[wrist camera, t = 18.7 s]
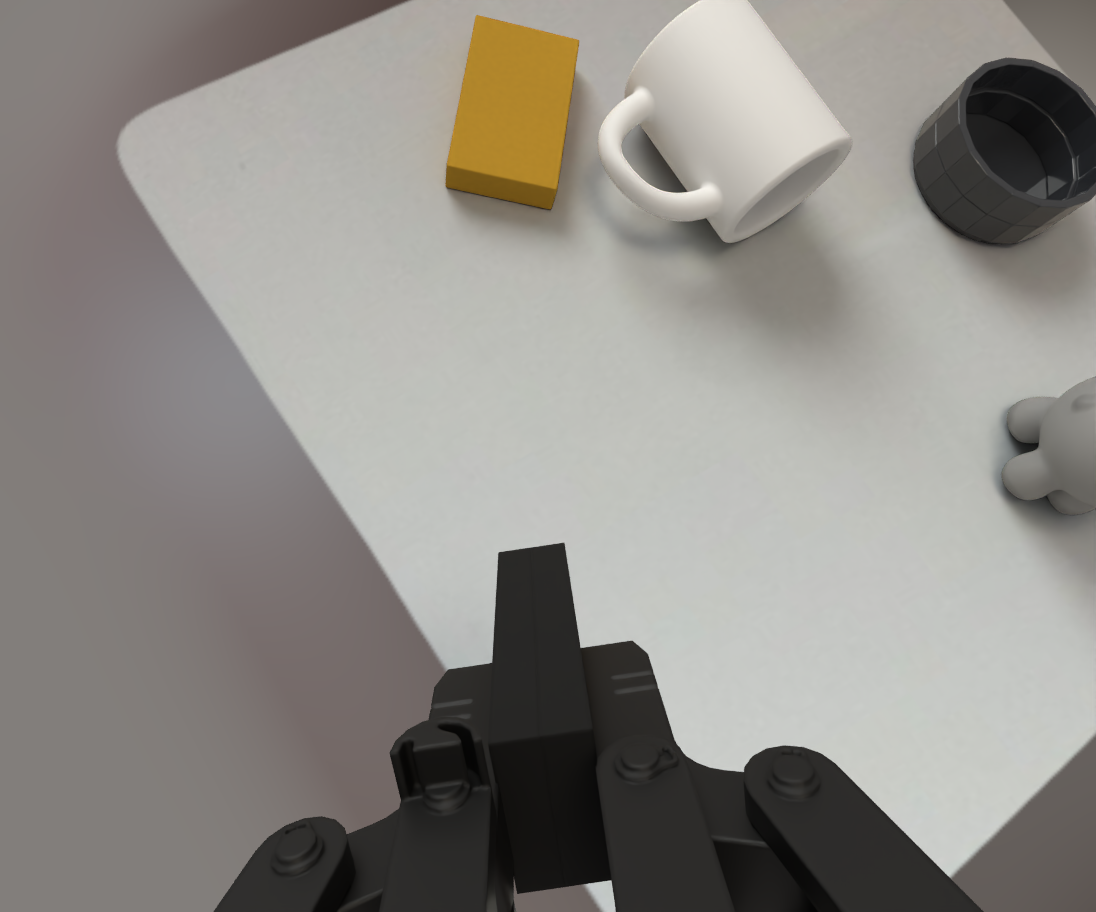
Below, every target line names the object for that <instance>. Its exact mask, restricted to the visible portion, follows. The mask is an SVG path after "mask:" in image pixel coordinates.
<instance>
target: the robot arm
mask: <svg viewBox="0 0 1096 912" xmlns="http://www.w3.org/2000/svg"><path fill="white" fill-rule="evenodd" d="M431 708H432V709H431V711H430V715H429V720H428V721H424V722H421V723H420V724H418V725H416V726H414V727H412V728H410V729H408V730H407V731H406V732H405V733H404V734H403V735H401V737H399V738H398V739H397V740H396V741H395V743H394V745H393V747H392V750H391V751H390V757H391V761H392V765H393V769H394V773H395V777H396V782H397V785H398V789H399V794H400V798H401V803H400V808H399V809H398V810H396V811H395V812H394V813H392V814H391V815H389V816H388V817H387V818H384V819H382V820H380V821H378V822H376V823H374V824H372V825H370V826H367V827H364V828H362V829H359V830H357V831H355V832H352V833H349V834H346V831H345V828H344V827H343V826H342V825H341V824H340V823H339V822H337V821H336V820H334V819H330V818H326V817H313V818H304V819H302V820H299V821H296V822H294V823H291V824H289V825H286V826H284V827H283V828H281V829H280V830H278V831H277V832H275V833H274V834H273V835H271V836H269V837H268V838H267V840H265V841H264V842H263V844H262V845H261V846H260V847H259V848H258V849H257V850H256V851H255V853H254V854H253V856H252V857H251V858H250V860H249V861H248V863H247V864H246V866H245V867H244V869H243V870H242V871H241V873H240V874H239V876H238V877H237V879H236V880H235V881H234V883H233V884H232V886H231V887H230V889H229V890H228V892H227V893H226V894H225V896H224V897H223V899H222V900H221V902H220V903H219V905H218V906H217V908H216V909H215V910H214V912H516V909H515V904H514V899H513V898H514V895H513V893H514V883H513V882H514V880H515V885H516V890H517V894H519V893H526V892H533V891H540V890H547V889H554V888H561V887H568V886H574V885H581V884H588V883H595V882H602V881H609V880H612V887H613V893H614V900H615V907H616V912H983V911H982V910H981V909H980V908H979V907H978V906H977V905H976V904H975V903H974V902H973V901H972V900H971V899H970V898H969V897H968V896H967V895H966V894H965V893H964V892H963V891H962V890H961V889H960V888H959V887H958V886H957V885H956V884H955V883H954V882H953V881H952V880H951V879H950V878H949V877H948V876H947V875H946V874H945V873H944V872H943V871H942V870H941V869H940V868H939V867H938V866H937V865H936V864H935V863H934V862H933V861H932V860H931V859H930V858H929V857H928V856H927V855H926V854H925V853H924V852H923V851H922V850H921V849H920V848H919V847H918V846H917V845H916V844H915V843H914V842H913V841H912V840H911V839H910V838H909V837H908V836H907V835H906V834H905V833H904V832H903V831H902V830H901V829H900V828H899V827H898V826H897V825H896V824H895V823H894V822H893V821H892V820H891V819H890V818H889V817H888V816H887V815H886V814H885V813H884V812H883V811H882V810H881V809H880V808H879V807H878V806H877V805H876V804H875V803H874V802H873V801H872V800H871V799H870V798H869V797H868V796H867V795H866V794H865V793H864V792H863V791H862V790H861V789H860V788H859V787H858V786H857V785H856V784H855V783H854V782H853V781H852V780H851V779H850V778H849V777H848V776H847V775H846V774H845V773H844V772H843V771H842V770H841V769H840V768H839V767H838V766H837V765H836V764H835V763H834V762H832V761H831V760H830V759H828V758H827V757H825V756H824V755H822V754H821V753H818V752H815V751H813V750H810V749H807V748H804V747H795V746H779V747H773V748H767V749H765V750H763V751H761V752H759V753H758V754H756V755H754V756H753V757H752V758H751V759H750V760H749V762H748V763H747V764H746V766H745V768H744V772H736V771H726V770H720V769H714V768H709V767H707V766H704V765H701V764H699V763H696V762H695V761H693V760H691V759H690V758H688V757H687V756H686V755H685V754H684V753H683V752H682V750H681V749H680V747H679V746H677V744H676V742H675V740H674V737H673V734H672V730H671V727H670V724H669V721H668V718H667V714H666V711H665V708H664V705H663V701H662V698H661V695H660V692H659V689H658V686H657V682H656V679H655V676H654V674H653V669H652V666H651V663H650V660H649V656H648V654H647V653H646V652H645V651H644V650H643V649H641V648H640V647H639V646H638V645H637V644H636V643H634V642H633V641H626V642H620V643H613V644H606V645H599V646H592V647H586V648H580V642H579V635H578V629H577V622H576V616H575V609H574V603H573V596H572V590H571V583H570V577H569V570H568V564H567V557H566V551H565V544H564V543H559V544H553V545H546V546H539V547H532V548H525V549H519V550H512V551H505V552H499V553H498V571H497V589H496V607H495V625H494V643H493V661H492V663H490V664H483V665H476V666H470V667H463V668H456V669H449V670H448V671H447V672H446V673H445V674H444V676H443V677H442V678H441V680H440V681H439V682H438V683H437V685H436V686H435V687H434V693H433V699H432V704H431Z"/></svg>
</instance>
